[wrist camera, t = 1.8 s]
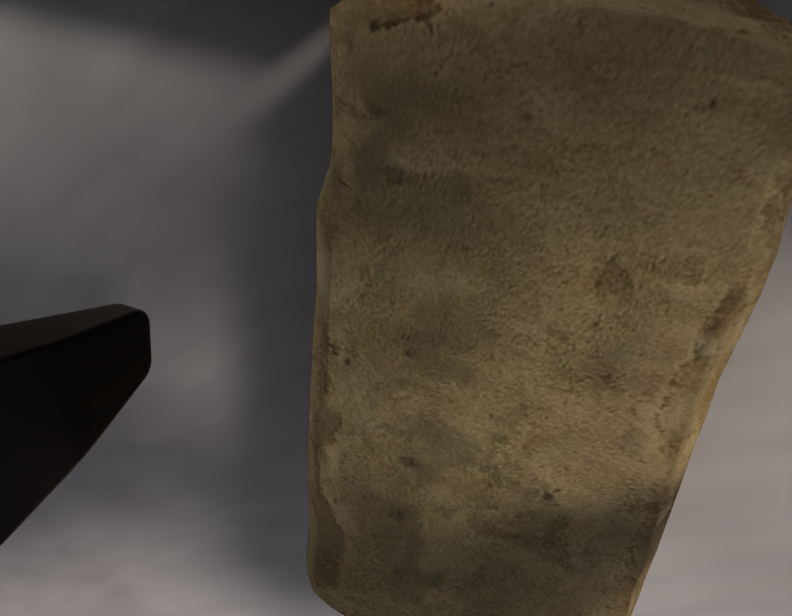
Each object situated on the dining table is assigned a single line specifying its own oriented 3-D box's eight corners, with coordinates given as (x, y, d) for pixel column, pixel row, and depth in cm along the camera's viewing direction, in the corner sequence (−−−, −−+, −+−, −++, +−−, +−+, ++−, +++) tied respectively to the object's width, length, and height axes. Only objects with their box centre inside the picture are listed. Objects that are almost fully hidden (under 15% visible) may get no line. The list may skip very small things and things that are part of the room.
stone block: (381, 460, 17) (290, 623, 13) (425, -65, 12) (296, -91, 7) (621, 529, 15) (610, 739, 11) (794, -37, 10) (900, -49, 6)
